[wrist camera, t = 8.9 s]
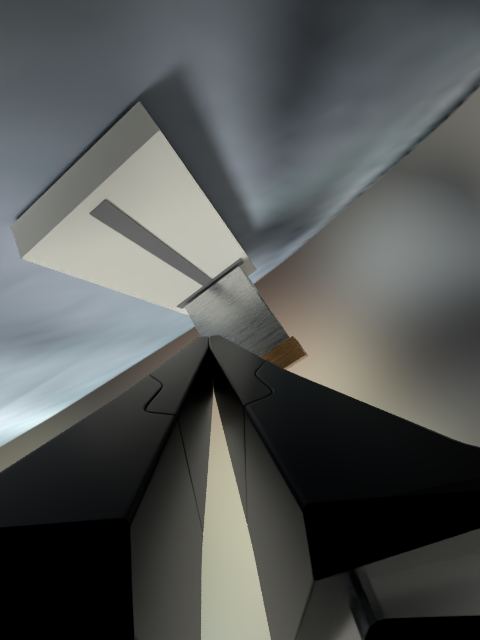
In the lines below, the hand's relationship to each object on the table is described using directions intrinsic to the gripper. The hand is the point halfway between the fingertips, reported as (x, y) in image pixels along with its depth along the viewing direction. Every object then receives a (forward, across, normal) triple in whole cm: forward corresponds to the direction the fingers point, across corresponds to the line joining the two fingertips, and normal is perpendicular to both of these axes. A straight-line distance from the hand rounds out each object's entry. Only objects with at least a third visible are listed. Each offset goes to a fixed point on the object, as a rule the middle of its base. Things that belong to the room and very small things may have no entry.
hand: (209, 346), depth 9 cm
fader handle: (+8, +1, -1) cm, 8 cm away
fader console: (+6, -2, +3) cm, 7 cm away
